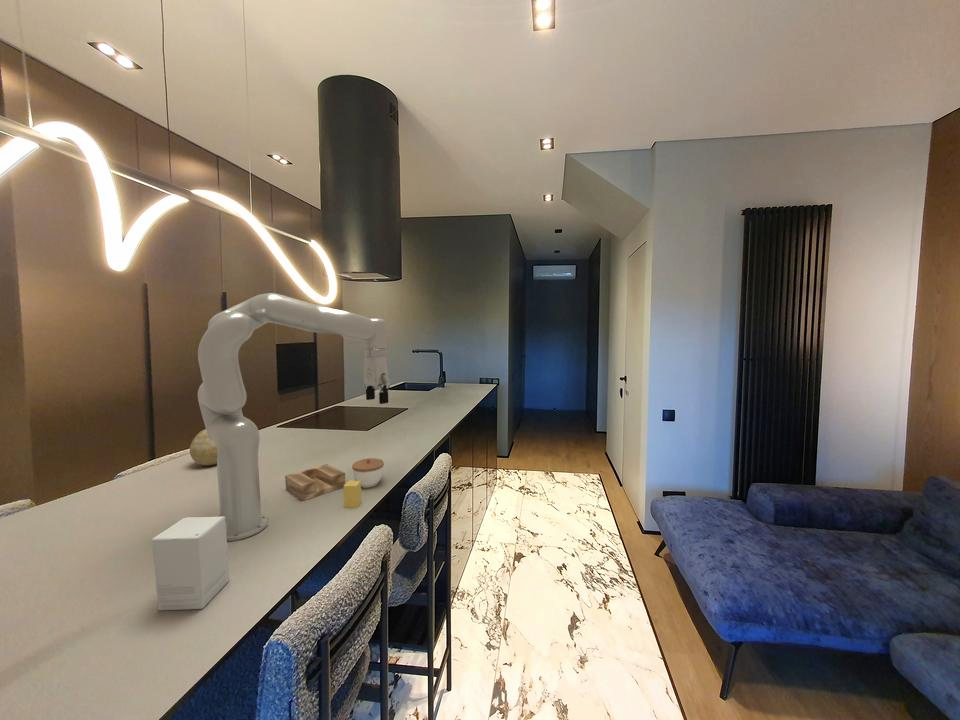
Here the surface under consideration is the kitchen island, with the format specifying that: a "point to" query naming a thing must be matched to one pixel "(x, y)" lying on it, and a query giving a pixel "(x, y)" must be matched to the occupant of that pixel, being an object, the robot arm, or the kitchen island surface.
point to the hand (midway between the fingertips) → (377, 401)
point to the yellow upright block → (352, 494)
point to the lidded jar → (368, 471)
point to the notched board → (314, 481)
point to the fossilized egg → (204, 449)
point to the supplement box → (190, 562)
